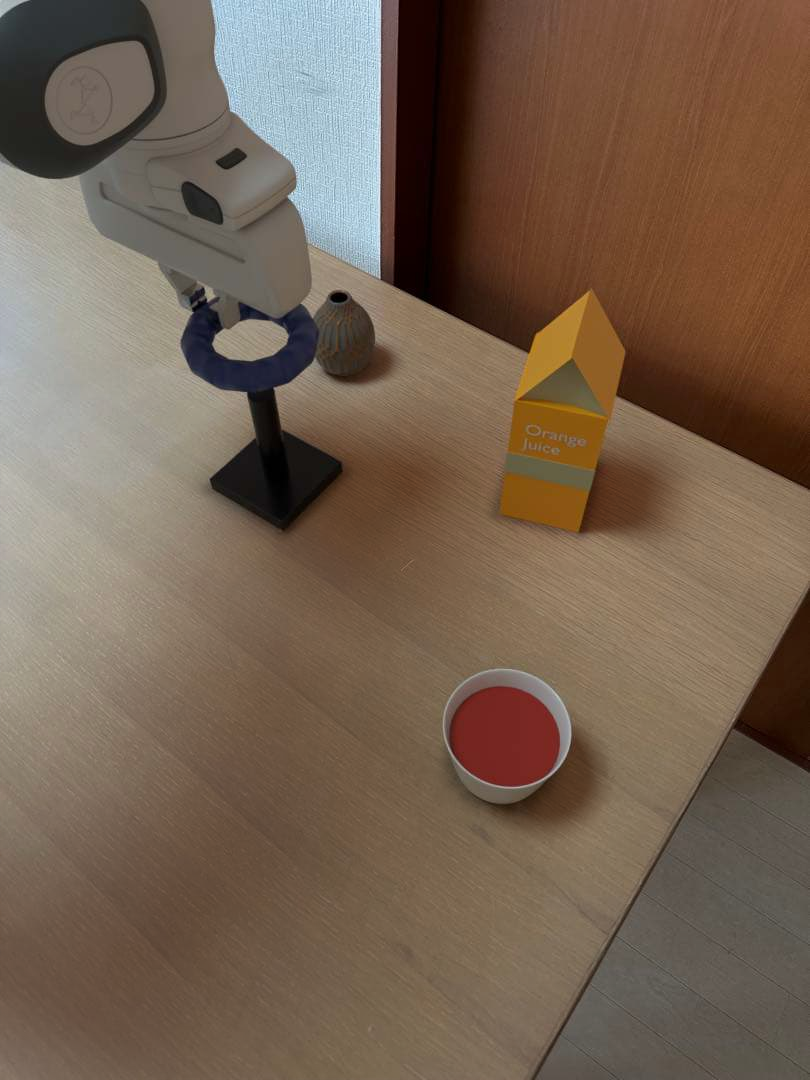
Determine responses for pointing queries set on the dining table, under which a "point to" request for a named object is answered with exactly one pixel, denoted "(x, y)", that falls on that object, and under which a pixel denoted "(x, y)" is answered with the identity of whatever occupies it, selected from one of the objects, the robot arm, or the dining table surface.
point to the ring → (249, 373)
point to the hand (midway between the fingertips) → (211, 314)
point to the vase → (343, 334)
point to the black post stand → (275, 468)
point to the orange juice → (562, 416)
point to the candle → (505, 734)
